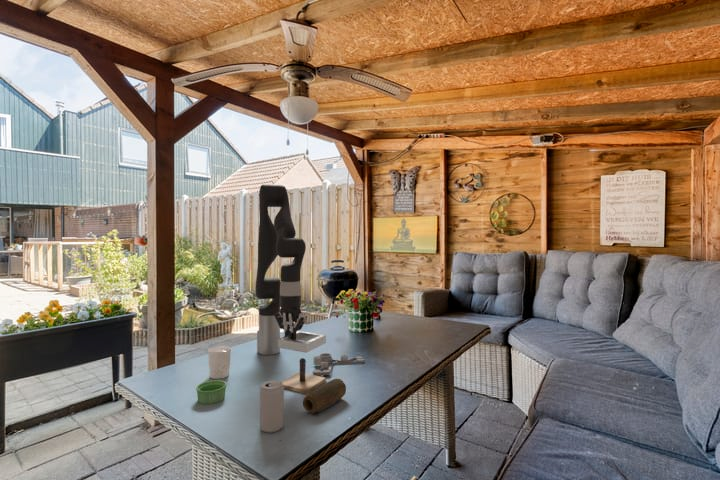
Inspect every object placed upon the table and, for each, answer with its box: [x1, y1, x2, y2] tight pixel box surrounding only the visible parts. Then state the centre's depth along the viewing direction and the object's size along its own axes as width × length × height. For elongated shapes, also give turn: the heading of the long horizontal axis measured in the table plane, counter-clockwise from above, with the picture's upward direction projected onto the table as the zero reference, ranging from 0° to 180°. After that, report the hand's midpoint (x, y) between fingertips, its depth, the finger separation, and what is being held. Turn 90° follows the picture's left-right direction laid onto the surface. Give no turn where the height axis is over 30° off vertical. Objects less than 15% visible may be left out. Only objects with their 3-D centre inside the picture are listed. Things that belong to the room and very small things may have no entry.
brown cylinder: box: [302, 378, 347, 414], centre depth 114 cm, size 15×7×7 cm, turn 148°
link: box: [278, 330, 327, 354], centre depth 130 cm, size 12×12×3 cm
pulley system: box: [312, 352, 365, 376], centre depth 149 cm, size 27×5×15 cm
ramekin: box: [195, 379, 227, 405], centre depth 118 cm, size 9×9×4 cm
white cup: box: [207, 345, 232, 380], centre depth 137 cm, size 8×8×10 cm
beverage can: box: [259, 380, 285, 434], centre depth 100 cm, size 6×6×12 cm
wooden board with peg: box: [281, 357, 327, 395], centre depth 130 cm, size 12×12×9 cm
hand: (290, 341), depth 132 cm, fingers closed on link, 1 cm apart
